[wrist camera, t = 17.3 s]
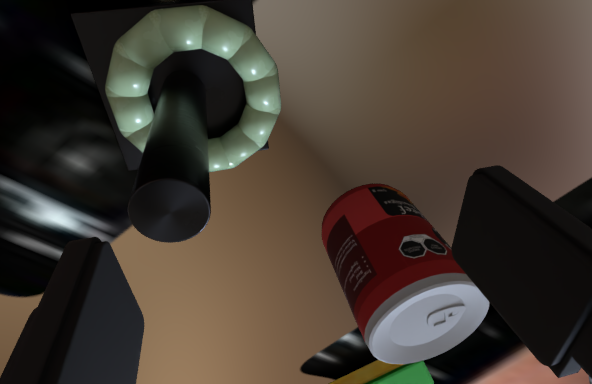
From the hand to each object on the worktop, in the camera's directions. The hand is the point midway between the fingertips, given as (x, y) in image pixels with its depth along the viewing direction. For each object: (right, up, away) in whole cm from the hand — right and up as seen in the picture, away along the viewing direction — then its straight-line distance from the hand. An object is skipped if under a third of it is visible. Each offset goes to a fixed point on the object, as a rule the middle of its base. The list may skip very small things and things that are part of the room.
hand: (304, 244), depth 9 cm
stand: (-7, +8, +12) cm, 16 cm away
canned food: (+5, -1, +22) cm, 22 cm away
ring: (-6, +7, +11) cm, 14 cm away
